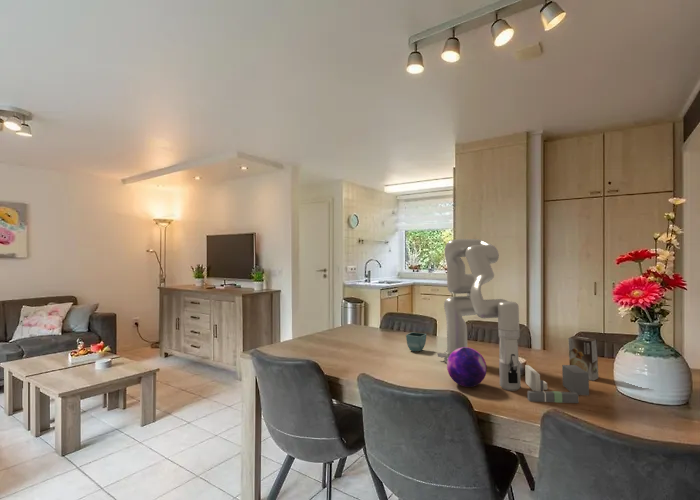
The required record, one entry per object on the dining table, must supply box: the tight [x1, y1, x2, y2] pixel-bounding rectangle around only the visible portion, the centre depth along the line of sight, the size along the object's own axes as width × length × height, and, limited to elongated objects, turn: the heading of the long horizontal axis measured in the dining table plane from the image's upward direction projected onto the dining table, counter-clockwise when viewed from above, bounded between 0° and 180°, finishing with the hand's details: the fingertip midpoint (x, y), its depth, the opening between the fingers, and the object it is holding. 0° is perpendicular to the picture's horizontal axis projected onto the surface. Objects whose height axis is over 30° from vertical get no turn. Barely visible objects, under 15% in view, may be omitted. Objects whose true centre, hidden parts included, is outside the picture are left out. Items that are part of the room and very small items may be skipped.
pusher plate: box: [524, 364, 548, 391], centre depth 140 cm, size 6×16×7 cm, turn 172°
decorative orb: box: [446, 346, 487, 388], centre depth 147 cm, size 15×15×15 cm
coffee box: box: [568, 335, 599, 381], centre depth 155 cm, size 9×6×16 cm
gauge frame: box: [526, 364, 590, 404], centre depth 137 cm, size 23×18×8 cm
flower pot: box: [405, 331, 427, 352], centre depth 203 cm, size 9×9×9 cm
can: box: [498, 357, 522, 392], centre depth 143 cm, size 8×8×12 cm
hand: (509, 379), depth 143 cm, fingers closed on can, 7 cm apart
